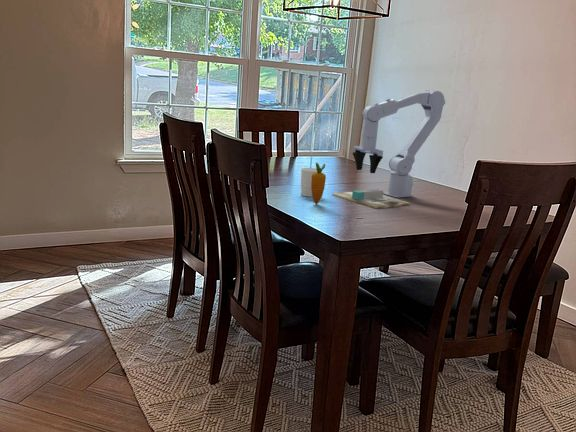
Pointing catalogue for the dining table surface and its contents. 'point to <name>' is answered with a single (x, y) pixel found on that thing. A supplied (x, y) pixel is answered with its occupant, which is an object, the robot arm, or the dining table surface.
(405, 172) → the robot arm
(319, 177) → the carrot
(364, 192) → the eraser
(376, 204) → the cream rectangular tray
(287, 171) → the dining table surface
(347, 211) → the dining table surface
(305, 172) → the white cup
